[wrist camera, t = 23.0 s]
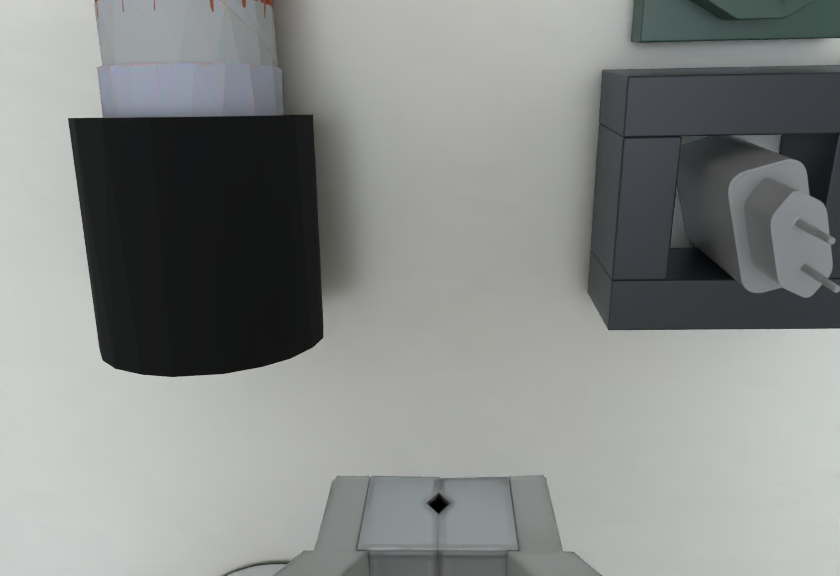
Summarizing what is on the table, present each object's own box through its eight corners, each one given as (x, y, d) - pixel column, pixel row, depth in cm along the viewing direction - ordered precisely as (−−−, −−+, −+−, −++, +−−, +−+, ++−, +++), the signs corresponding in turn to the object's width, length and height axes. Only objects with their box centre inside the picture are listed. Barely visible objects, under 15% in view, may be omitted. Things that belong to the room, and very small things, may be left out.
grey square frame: (804, 291, 37) (857, 329, 32) (587, 293, 37) (607, 330, 33) (846, 64, 33) (912, 70, 28) (602, 69, 33) (627, 76, 29)
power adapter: (734, 129, 34) (876, 178, 23) (749, 231, 36) (888, 323, 25) (670, 148, 35) (779, 204, 23) (688, 248, 36) (798, 345, 25)
